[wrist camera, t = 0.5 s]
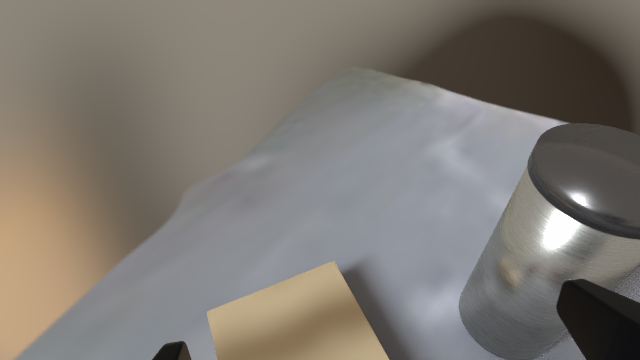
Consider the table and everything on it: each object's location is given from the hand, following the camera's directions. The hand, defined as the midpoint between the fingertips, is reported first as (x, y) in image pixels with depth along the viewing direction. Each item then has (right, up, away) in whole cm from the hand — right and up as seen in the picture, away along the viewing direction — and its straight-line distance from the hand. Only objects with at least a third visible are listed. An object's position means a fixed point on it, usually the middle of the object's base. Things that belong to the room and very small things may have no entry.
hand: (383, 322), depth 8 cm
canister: (+11, -6, +17) cm, 21 cm away
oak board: (-3, -8, +15) cm, 17 cm away
